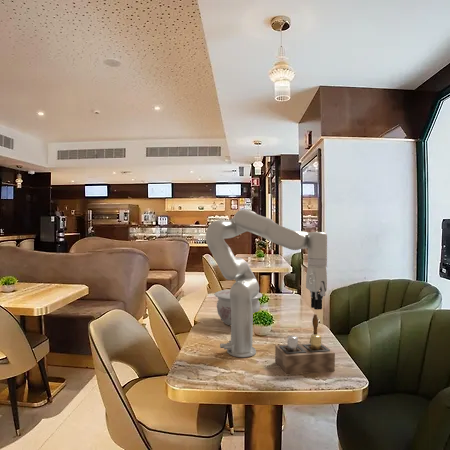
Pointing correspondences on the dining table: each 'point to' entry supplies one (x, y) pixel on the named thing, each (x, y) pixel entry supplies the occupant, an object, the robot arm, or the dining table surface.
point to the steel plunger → (292, 344)
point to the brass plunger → (315, 342)
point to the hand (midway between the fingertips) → (316, 308)
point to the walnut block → (304, 359)
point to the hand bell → (315, 324)
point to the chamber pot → (225, 305)
